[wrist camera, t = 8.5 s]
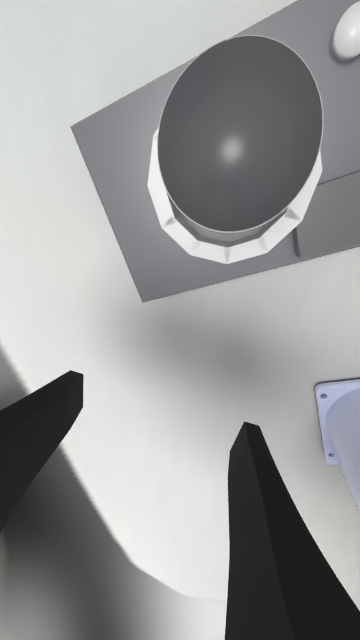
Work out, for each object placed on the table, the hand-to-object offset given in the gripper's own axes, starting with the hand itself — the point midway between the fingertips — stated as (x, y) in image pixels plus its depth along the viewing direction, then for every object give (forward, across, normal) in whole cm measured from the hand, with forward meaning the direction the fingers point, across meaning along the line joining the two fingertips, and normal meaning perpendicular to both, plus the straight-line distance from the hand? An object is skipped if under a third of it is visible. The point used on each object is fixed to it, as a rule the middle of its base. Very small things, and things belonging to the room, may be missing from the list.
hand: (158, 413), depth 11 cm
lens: (+7, 0, -10) cm, 12 cm away
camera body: (+10, 0, -9) cm, 14 cm away
